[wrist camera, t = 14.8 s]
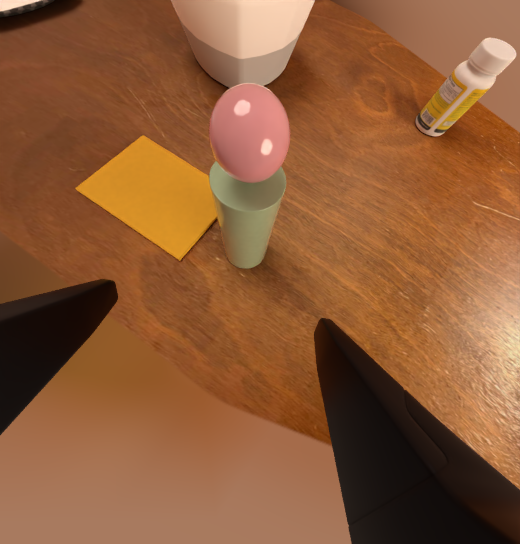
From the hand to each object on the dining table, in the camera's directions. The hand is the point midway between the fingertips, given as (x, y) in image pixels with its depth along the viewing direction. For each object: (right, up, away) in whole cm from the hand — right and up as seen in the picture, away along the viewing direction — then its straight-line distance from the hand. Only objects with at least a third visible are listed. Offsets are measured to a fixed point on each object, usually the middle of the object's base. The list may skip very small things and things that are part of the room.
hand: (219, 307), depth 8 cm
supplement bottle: (+28, +24, +21) cm, 42 cm away
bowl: (-1, +34, +21) cm, 40 cm away
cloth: (-10, +10, +13) cm, 19 cm away
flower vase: (0, +4, +12) cm, 13 cm away
